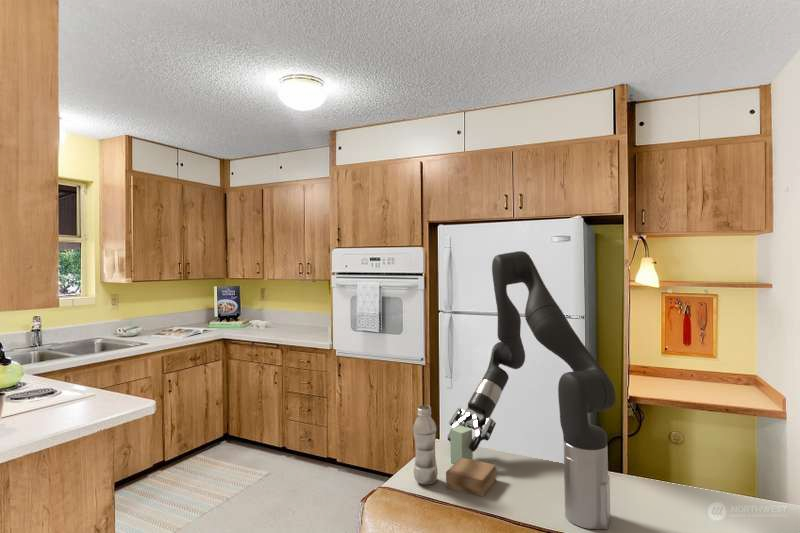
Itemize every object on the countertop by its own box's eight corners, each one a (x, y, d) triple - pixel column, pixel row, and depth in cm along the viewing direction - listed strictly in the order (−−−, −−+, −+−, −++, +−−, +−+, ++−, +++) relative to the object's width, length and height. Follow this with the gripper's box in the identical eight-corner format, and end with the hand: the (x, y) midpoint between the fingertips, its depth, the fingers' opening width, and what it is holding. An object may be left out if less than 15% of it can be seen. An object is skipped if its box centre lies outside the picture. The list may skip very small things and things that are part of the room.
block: (461, 458, 135) (460, 425, 135) (472, 463, 131) (472, 429, 131) (450, 463, 132) (450, 429, 132) (462, 468, 128) (461, 433, 128)
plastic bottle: (438, 476, 124) (436, 403, 124) (437, 488, 117) (436, 411, 117) (414, 475, 124) (413, 403, 125) (413, 487, 118) (411, 411, 118)
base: (495, 479, 121) (495, 464, 121) (482, 496, 113) (482, 480, 113) (461, 471, 126) (461, 457, 126) (446, 487, 118) (445, 471, 118)
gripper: (462, 386, 142) (436, 432, 135) (498, 396, 131) (472, 446, 124) (473, 400, 146) (449, 444, 139) (509, 410, 135) (485, 459, 128)
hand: (460, 445), depth 131 cm, fingers open, 8 cm apart
